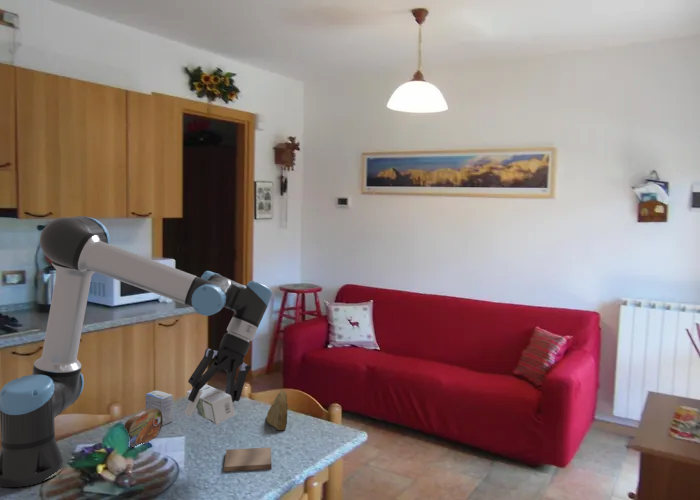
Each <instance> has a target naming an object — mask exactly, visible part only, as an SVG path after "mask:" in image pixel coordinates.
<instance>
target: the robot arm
mask: <svg viewBox="0 0 700 500" xmlns="http://www.w3.org/2000/svg"><path fill="white" fill-rule="evenodd" d="M110 239H111V237H110V232H109V231H108V229H107V227H106V226H105V225H104V224H103V223H102V222H101V221H100V220H97V219H96V218H93V217H89V216H82V215H80V216H73V217H61V218H60V217H59V218H55V219H54V220H52V221H50V222H48V223H47V224H46V226H45V227H44V228H43V229H42V231H41V233H40V237H39V245H40V249H41V250H42V252H43V254H44V256H45V257H47V259H49V260H51V265H52V266H53V268H54V269H55V271H56V273H55V277H54V278H55V280H54V285H53V291H52V296H51V302H50V306H49V307H50V308H49V313H48V317H47V318H48V319H47V325H46V330H45V336H44V340H43V341H44V342H43V348H42V353H41V357H39V358H38V359H36V360H35V361H34V362H33V367H32V373H31V374H28V375H24V376H21V377H19V378H15V379H12V380H10V381H8V382H7V383H5V384H4V385H3V387H2V388H1V389H0V487H1V486H3V487H2V488H7V487H18V488H22V487H21V486H26V487H29V486H28V485H31V486H34V485H33V484H35V485H38V484H37V483H39V484H41V482H42V481H44V480H45V479H46V478H48V477H49V476H51V475H52V474H54V473H55V472H57V471H58V470H59V469H61V468H62V467H63V468H64V457H63V455H62V452H61V450H60V448H59V444H58V443H57V441H56V433H55V430H56V429H55V428H56V427H55V418H56V417H57V416H58V415H59V416H60V414H61V413H62V412H64V411H65V410H66V409H68V408H69V407H71V406H72V405H73V404H74V403H75V402H76V401H77V400H78V398H79V397H80V396H81V394H82V392H83V389H84V385H85V380H84V378H85V377H84V375H83V373H81V371H82V363H81V362H80V361H79V359H78V355H79V354H78V353H79V348H80V341H81V337H82V331H83V327H84V320H85V315H86V309H87V304H88V297H89V293H90V286H91V281H92V276H93V275H94V274H95V273H97V274H99V275H103V276H105V277H107V278H111V279H114V280H115V281H119V282H122V283H124V284H128V285H130V286H134V287H136V288H139V289H142V290H144V291H147V292H149V293H153V294H156V295H158V296H160V297H164V298H166V299H169V300H172V301H175V302H178V303H180V304H183V305H186V306H188V307H190V308H193V309H194V311H195V312H196V313H198V314H199V315H201V316H206V317H207V316H209V317H210V316H213V315H215V314H217V313H219V312H221V310H223V308H226V309H228V310H231V311H233V312H234V313H233V315H232V318H231V320H230V321H229V323H228V326H227V328H226V331H227V332H226V333H224V334H223V337H222V338H221V342H220V343H219V347H218V348H217V349H216V350H213V349H211V348H205V351H204V355H203V357H202V359H200V361H199V363H198V365H197V366H196V367H195V370H194V371H193V372H192V374H191V376H190V377H189V379H188V381H187V382H188V383H189V385H191V387H192V389H191V390H192V391H191V393H190V395H189V397H188V396H187V400H188V404H187V406H186V409H185V411H184V414H185V415H187V416H188V417H192V415H193V413H195V412H194V409H195V407H196V405H197V403H198V401H199V398H200V396H201V394H202V391H200V389H201V388H202V387H203V386H204V385H205V384H206V385H207V383H208V382H209V381H210V380H211V379H212V378H213V377H214V376H215V375H216V374H217V372H219V371H222V370H223V371H226V372H225V374H226V382H225V392H224V393H226V394H229V395H231V398H232V402H233V403H234V402H239V401H240V398H241V395H242V393H243V389H244V386H245V381H246V379H247V375H248V374H249V371H250V370H251V366H250V365H249V364H246V363H245V362H244V358H245V356H246V355H247V354H248V351H249V349H250V346H251V342H252V341H254V337H255V336H256V333H257V330H258V329H259V326H260V324H261V322H262V320H263V317H264V316H265V313H266V311H267V309H268V307H269V304H270V302H271V298H272V297H273V291H272V289H271V288H269V287H268V286H267V285H264V284H262V283H260V282H257V281H255V280H250V281H248V282H247V284H246V285H244V284H242V283H238V282H236V281H235V280H233V279H230V278H228V277H226V276H223V275H221V274H220V273H216V272H213V271H210V270H206V271H204V272H203V274H202V275H201V276H200V277H198V276H197V275H195V274H191V273H188V272H186V271H183V270H182V269H178V268H174V267H172V266H170V265H167V264H165V263H161V262H159V261H157V260H153V259H151V258H148V257H145V256H142V255H139V254H137V253H134V252H131V251H129V250H126V249H123V248H121V247H119V246H118V247H117V246H116V245H113V244H110V243H111V240H110ZM214 358H215V360H214V361H213V359H214ZM212 361H213V362H212ZM211 362H212V363H211ZM210 363H211V365H210ZM209 365H210V367H209ZM238 369H239V371H238ZM237 371H238V372H237ZM220 423H221V422H219V423H217V424H215V423H213V424H214V425H216V426H219V425H220ZM44 482H45V481H44ZM42 483H43V482H42Z"/></svg>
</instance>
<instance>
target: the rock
mask: <svg viewBox="0 0 700 500" xmlns="http://www.w3.org/2000/svg"><path fill="white" fill-rule="evenodd" d="M265 420H266V423H268V424H269V425H270V426H272V427H273V428H275V429H277V430H278V431H285V430H286V428H287V423H288V394H287V392H286V391H284V390H280V391H279V393H278V394H277V395H276V397H275V399H274V400H273V403H272V404H271V405H270V407H269V409H268V412H267V414H266V418H265Z"/></svg>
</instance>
